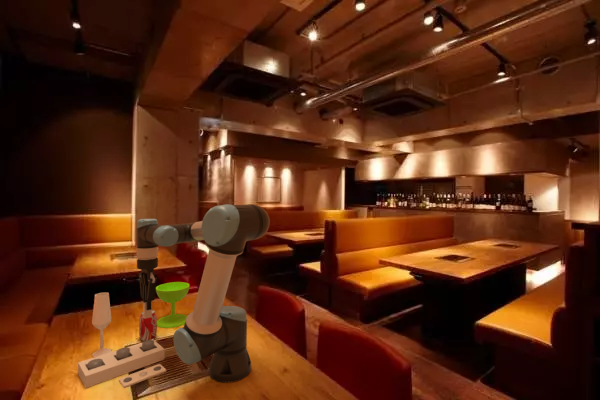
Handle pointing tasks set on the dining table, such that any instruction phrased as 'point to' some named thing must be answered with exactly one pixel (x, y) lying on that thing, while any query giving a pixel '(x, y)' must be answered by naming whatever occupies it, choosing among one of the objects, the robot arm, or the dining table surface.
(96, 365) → the left button
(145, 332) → the soda can
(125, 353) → the middle button
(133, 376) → the pattern card
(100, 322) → the champagne flute
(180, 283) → the wineglass
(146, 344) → the right button
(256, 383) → the dining table surface
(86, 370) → the button board
